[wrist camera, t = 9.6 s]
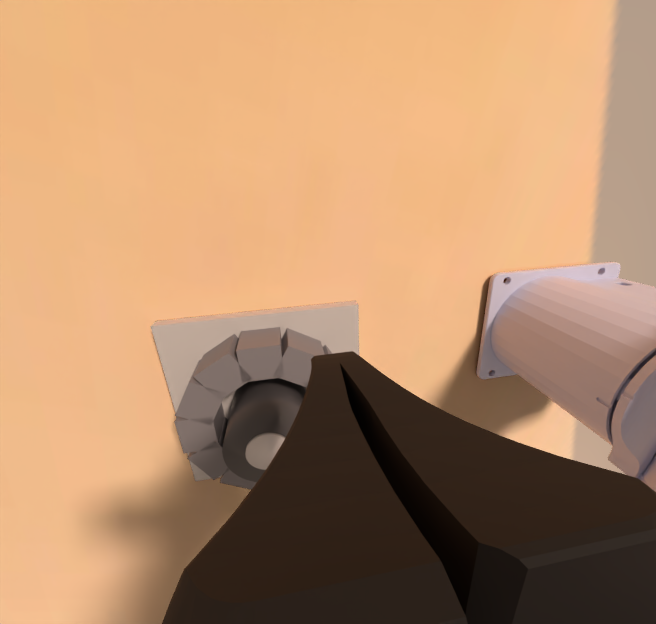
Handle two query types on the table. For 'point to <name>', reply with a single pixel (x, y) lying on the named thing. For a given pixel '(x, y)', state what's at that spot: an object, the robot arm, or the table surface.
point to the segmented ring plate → (241, 367)
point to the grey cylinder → (259, 424)
